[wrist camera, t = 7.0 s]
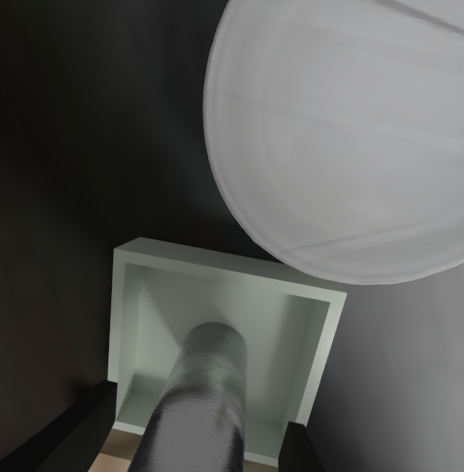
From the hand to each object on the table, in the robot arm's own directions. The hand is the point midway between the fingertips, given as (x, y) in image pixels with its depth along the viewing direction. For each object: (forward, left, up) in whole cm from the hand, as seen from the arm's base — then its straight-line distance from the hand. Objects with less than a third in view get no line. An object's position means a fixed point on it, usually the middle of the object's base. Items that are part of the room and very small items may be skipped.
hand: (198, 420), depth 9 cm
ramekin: (-4, -12, -6) cm, 14 cm away
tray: (0, 0, -5) cm, 5 cm away
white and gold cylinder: (0, +1, -5) cm, 5 cm away
